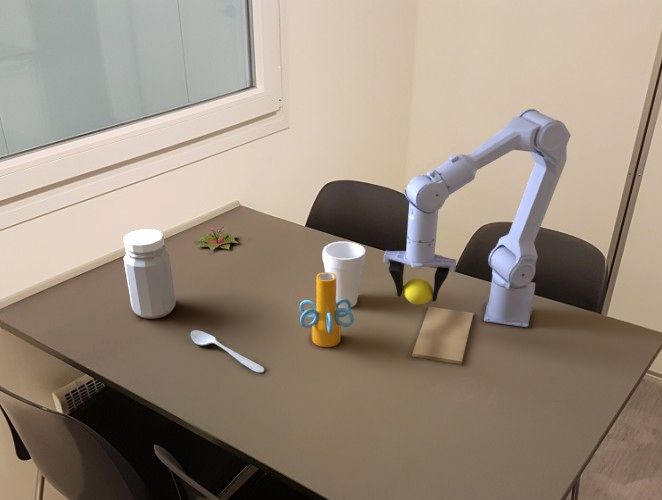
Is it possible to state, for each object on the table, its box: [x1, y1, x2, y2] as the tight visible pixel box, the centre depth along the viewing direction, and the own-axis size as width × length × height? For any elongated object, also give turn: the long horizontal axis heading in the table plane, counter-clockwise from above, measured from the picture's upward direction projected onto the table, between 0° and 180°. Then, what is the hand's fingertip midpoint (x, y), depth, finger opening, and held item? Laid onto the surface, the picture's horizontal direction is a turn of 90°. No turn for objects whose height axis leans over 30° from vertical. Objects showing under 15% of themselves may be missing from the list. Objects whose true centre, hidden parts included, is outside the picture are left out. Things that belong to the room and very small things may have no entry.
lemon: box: [402, 278, 434, 306], centre depth 145 cm, size 7×5×5 cm
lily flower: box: [196, 225, 239, 252], centre depth 187 cm, size 12×12×5 cm
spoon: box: [190, 329, 265, 374], centre depth 142 cm, size 4×21×2 cm, turn 50°
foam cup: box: [322, 241, 367, 309], centre depth 158 cm, size 10×9×13 cm
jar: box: [123, 228, 177, 320], centre depth 153 cm, size 10×10×18 cm
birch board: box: [411, 306, 474, 365], centre depth 148 cm, size 10×20×1 cm, turn 163°
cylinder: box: [299, 271, 355, 348], centre depth 143 cm, size 12×10×15 cm
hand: (416, 296), depth 146 cm, fingers closed on lemon, 7 cm apart
